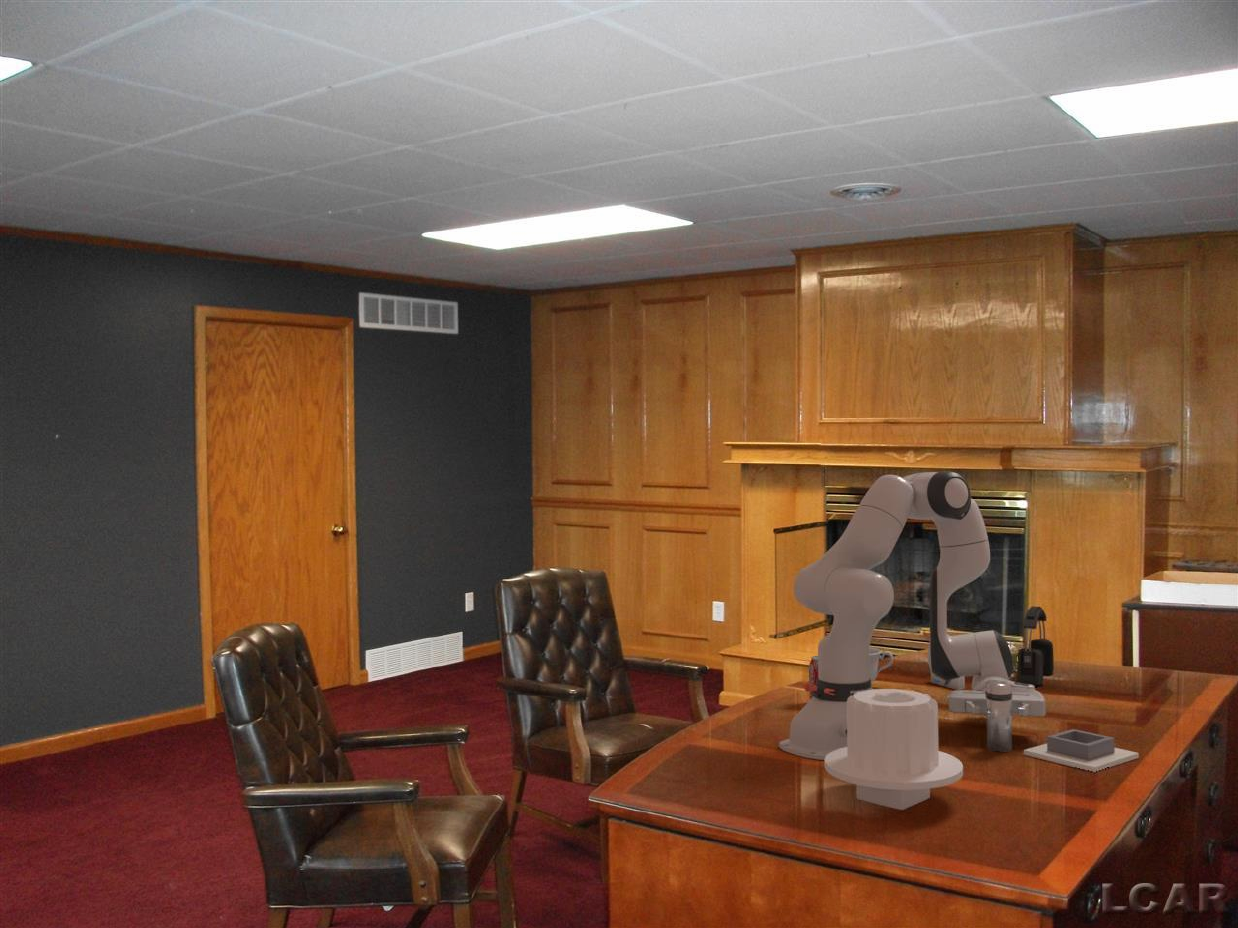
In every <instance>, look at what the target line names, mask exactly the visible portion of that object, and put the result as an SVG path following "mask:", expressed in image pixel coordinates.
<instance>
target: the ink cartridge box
mask: <svg viewBox="0 0 1238 928" xmlns="http://www.w3.org/2000/svg"><path fill="white" fill-rule="evenodd" d="M965 677H966V676H964V677H960V678H956V679H951V680H947V681H945V680H943V679H941V678H939V677H938V676H936V675H935V674H933V673H932V671H931V670H930V683H932V684H936V685H939V686H942V687H945V688H948V689H949V688H950V689H954V690H955V691H957V690H962V691H963V690H965V688H966V685H965V683H966V682H965V681H966V679H965Z"/></svg>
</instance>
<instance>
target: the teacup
mask: <svg viewBox="0 0 1238 928" xmlns="http://www.w3.org/2000/svg"><path fill="white" fill-rule="evenodd" d="M881 653H882V654H881ZM885 656H889V662H887V663H886V664H885V665H882V666H880V667H879V660H883V659H884V658H885ZM893 662H894V656H893V653H892V652H891V651H889V650H886V651H885V650H884V651H882V649H880V648H878V647H872V646H870V650H869V678H870V679H871V683H873V682H875V680H876V679H877V676H878V674H879V673H880V672H881V671H882V670H885V669H887V668H889V667H891V666H892V665H893Z"/></svg>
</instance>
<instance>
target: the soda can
mask: <svg viewBox="0 0 1238 928" xmlns="http://www.w3.org/2000/svg"><path fill="white" fill-rule="evenodd" d="M810 658H811V661H810V662H809V664H808V682H809V683H814V684H815V683H816V680H817V678H818V655H814V656H811V657H810ZM808 694H809V701H810V700H811V698H812V697H813V692H809V693H808Z"/></svg>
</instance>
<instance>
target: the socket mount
mask: <svg viewBox="0 0 1238 928" xmlns="http://www.w3.org/2000/svg"><path fill="white" fill-rule="evenodd" d="M1115 744H1116V743H1115V737H1112V736H1106V735H1103V734H1102V735H1101V734H1098V733H1093V732H1089V731H1084V730H1079V729H1077V728H1076V729H1075V728H1072V729H1068V730H1065V731H1061V732H1057V733H1054V734H1050V735H1047V736H1046V743H1043V744H1040V745H1037V746H1033V747H1029V748H1027V749H1023V755H1024V756H1028V757H1030V758H1035V759H1040V760H1044V761H1048V762H1052V763H1056V764H1060V765H1064V766H1067V767H1072V768H1075V767H1076V769H1079V768H1080V770H1083V769H1084V771H1088V770H1089V771H1088V772H1091V771H1092V772H1091V773H1097V772H1100V771H1103V770H1106V769H1108V768H1107V767H1109V768H1112V767H1116V766H1118V765H1121V764H1124V763H1127V762H1131V761H1133V760H1137V759H1139V758H1140V757H1139V754H1140V753H1139V752H1135V751H1131V750H1127V749H1122V748H1118V747H1115V746H1116V745H1115ZM1105 768H1106V769H1105ZM1102 769H1103V770H1102ZM1099 770H1100V771H1099ZM1096 771H1097V772H1096Z"/></svg>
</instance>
